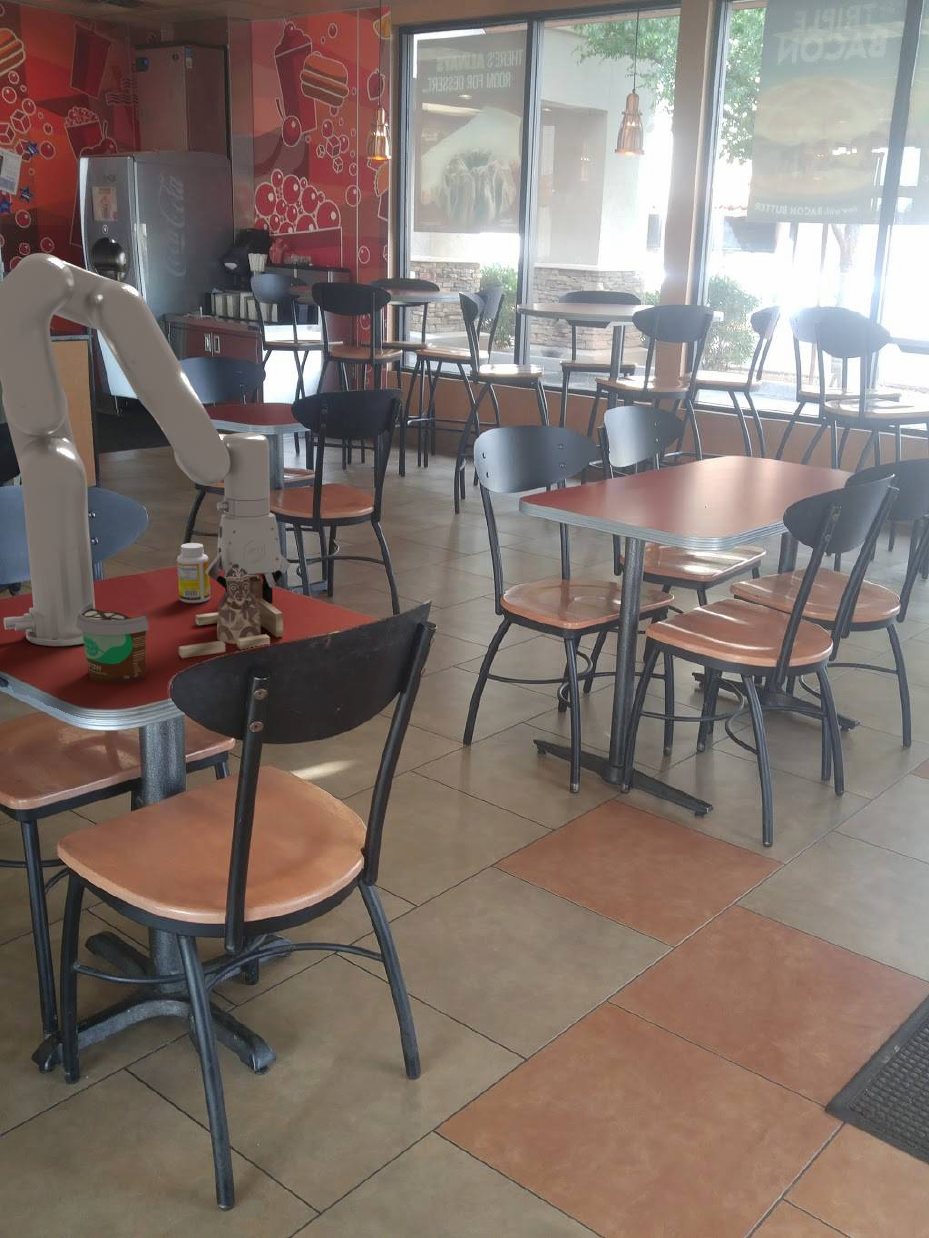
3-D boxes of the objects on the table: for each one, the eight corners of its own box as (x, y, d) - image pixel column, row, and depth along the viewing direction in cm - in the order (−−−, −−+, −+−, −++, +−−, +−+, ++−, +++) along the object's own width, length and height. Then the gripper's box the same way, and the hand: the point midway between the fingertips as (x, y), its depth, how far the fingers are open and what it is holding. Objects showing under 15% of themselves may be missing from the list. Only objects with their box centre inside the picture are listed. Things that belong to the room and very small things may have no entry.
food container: (62, 675, 176) (56, 611, 173) (94, 664, 181) (89, 602, 178) (120, 692, 170) (116, 626, 167) (152, 680, 175) (148, 616, 172)
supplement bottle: (202, 593, 219) (199, 540, 215) (215, 601, 214) (213, 546, 211) (174, 598, 215) (171, 544, 212) (186, 605, 211) (184, 550, 208)
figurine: (216, 644, 191) (213, 573, 187) (218, 630, 198) (215, 561, 194) (260, 643, 192) (258, 572, 189) (261, 629, 199) (259, 561, 195)
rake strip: (220, 645, 190) (219, 603, 188) (192, 620, 202) (190, 581, 200) (284, 635, 195) (283, 595, 193) (253, 612, 208) (251, 573, 206)
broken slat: (182, 658, 184) (181, 649, 184) (179, 655, 186) (178, 646, 185) (269, 645, 191) (269, 637, 191) (266, 642, 193) (266, 634, 192)
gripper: (205, 515, 192) (208, 621, 197) (303, 508, 200) (303, 610, 205) (191, 506, 198) (194, 609, 203) (286, 499, 206) (287, 599, 212)
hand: (249, 608), depth 204 cm, fingers open, 5 cm apart
